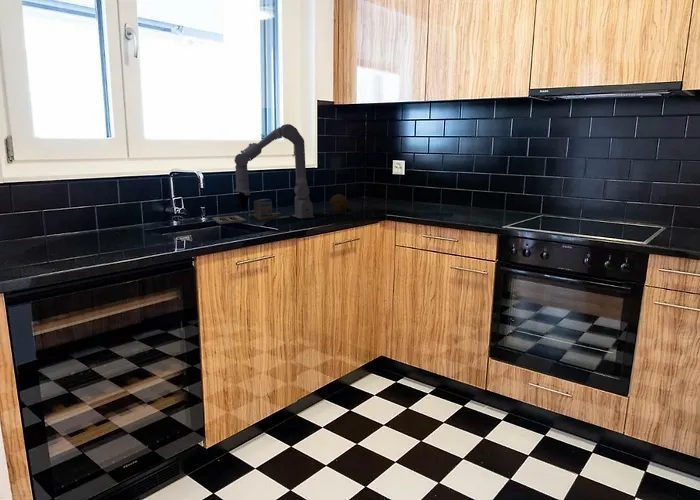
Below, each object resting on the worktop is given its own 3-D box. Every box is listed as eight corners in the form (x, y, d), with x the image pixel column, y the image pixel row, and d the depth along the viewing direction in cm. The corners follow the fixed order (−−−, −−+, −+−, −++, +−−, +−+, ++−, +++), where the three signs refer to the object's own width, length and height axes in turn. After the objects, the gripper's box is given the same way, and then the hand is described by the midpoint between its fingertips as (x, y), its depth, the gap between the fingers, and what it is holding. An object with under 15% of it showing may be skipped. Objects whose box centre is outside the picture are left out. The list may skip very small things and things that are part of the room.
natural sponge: (345, 212, 254) (345, 192, 251) (351, 215, 245) (350, 194, 243) (328, 213, 251) (328, 193, 249) (333, 216, 243) (333, 195, 240)
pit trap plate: (245, 221, 229) (245, 219, 229) (220, 224, 223) (219, 221, 223) (236, 217, 240) (236, 215, 239) (212, 219, 234) (211, 217, 234)
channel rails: (278, 218, 237) (278, 215, 236) (258, 220, 232) (258, 217, 231) (268, 214, 248) (268, 212, 247) (248, 216, 243) (248, 213, 242)
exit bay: (289, 217, 240) (289, 216, 239) (279, 218, 237) (279, 217, 237) (279, 213, 250) (279, 212, 250) (269, 214, 248) (269, 213, 248)
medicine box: (260, 219, 235) (259, 200, 233) (254, 218, 238) (253, 200, 236) (272, 216, 241) (271, 199, 239) (266, 215, 244) (265, 198, 242)
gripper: (228, 179, 235) (230, 207, 238) (238, 181, 223) (240, 211, 226) (243, 178, 238) (244, 206, 241) (253, 180, 226) (255, 210, 229)
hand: (243, 209), depth 234 cm, fingers closed
